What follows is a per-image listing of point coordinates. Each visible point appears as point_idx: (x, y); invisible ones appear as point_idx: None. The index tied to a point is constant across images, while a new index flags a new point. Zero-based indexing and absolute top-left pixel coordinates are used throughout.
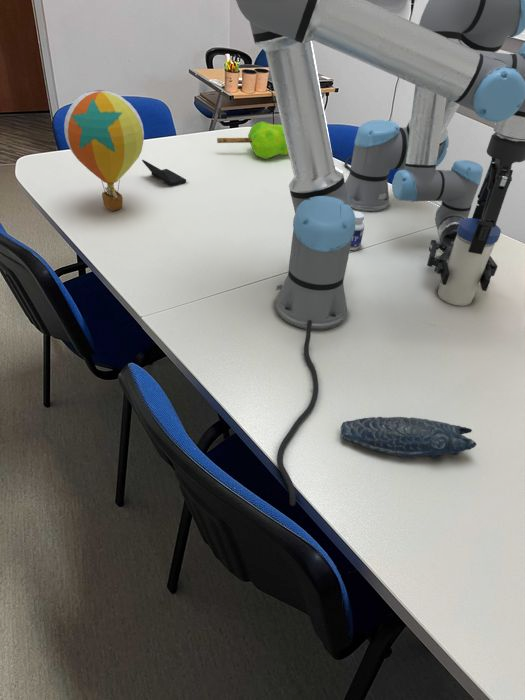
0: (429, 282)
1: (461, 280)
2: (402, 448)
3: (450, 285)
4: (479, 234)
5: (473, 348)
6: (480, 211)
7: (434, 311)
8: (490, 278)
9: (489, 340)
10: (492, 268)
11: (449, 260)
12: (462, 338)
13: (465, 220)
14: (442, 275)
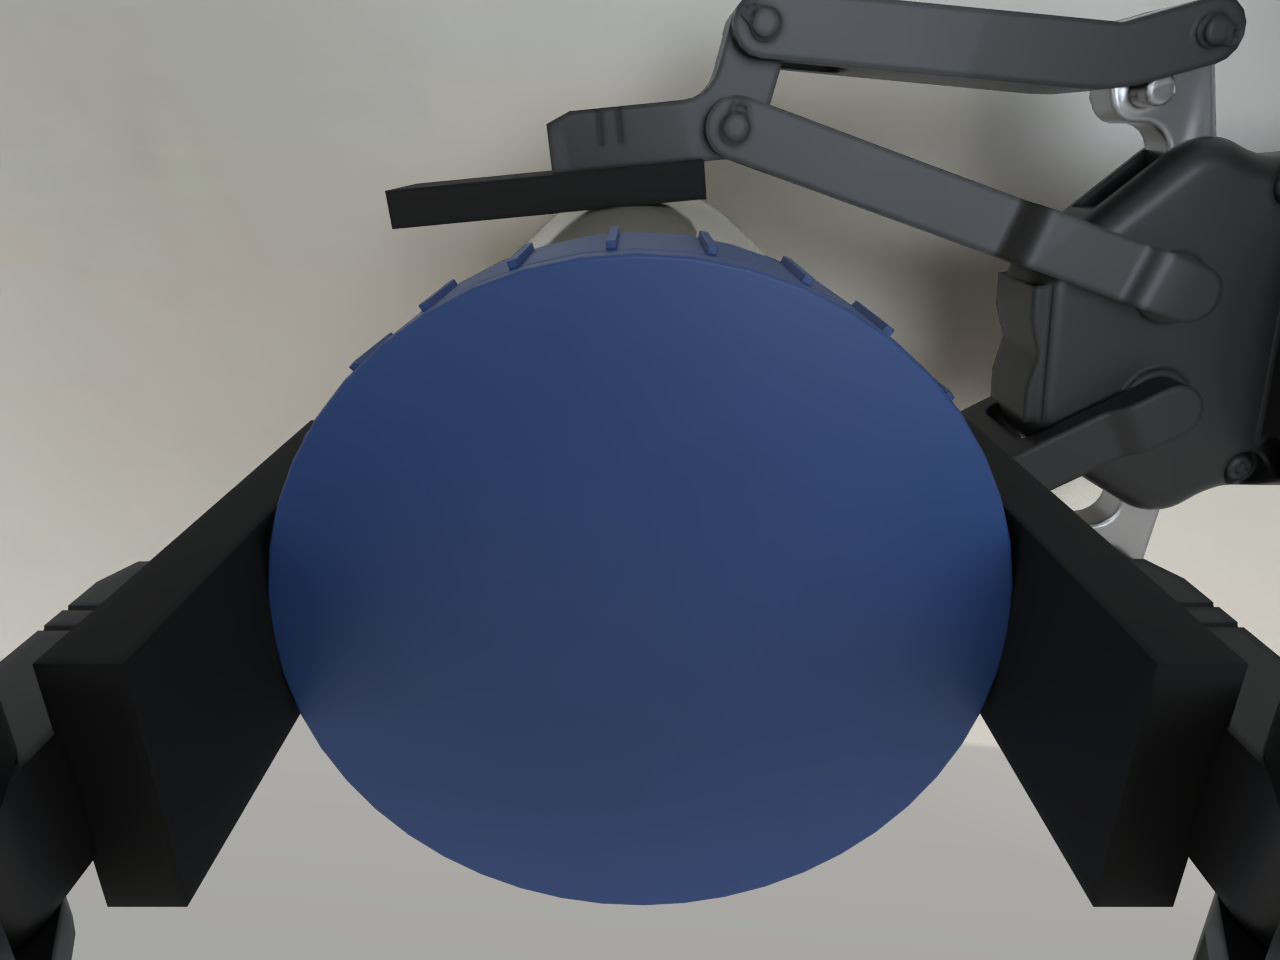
0: (788, 111)
1: None
2: None
3: None
4: (57, 618)
5: (29, 430)
6: (1076, 704)
7: (341, 164)
8: None
9: (180, 527)
10: None
11: (589, 217)
12: (99, 365)
13: (833, 385)
14: (522, 174)
